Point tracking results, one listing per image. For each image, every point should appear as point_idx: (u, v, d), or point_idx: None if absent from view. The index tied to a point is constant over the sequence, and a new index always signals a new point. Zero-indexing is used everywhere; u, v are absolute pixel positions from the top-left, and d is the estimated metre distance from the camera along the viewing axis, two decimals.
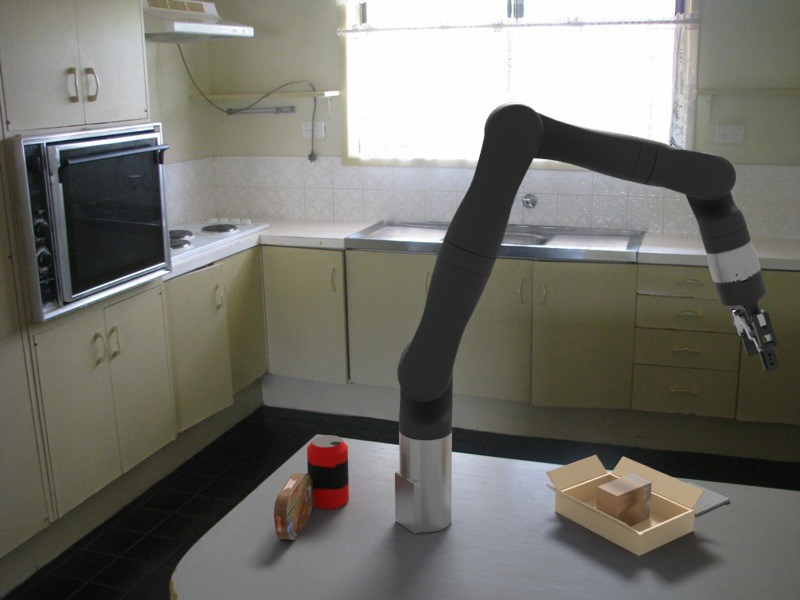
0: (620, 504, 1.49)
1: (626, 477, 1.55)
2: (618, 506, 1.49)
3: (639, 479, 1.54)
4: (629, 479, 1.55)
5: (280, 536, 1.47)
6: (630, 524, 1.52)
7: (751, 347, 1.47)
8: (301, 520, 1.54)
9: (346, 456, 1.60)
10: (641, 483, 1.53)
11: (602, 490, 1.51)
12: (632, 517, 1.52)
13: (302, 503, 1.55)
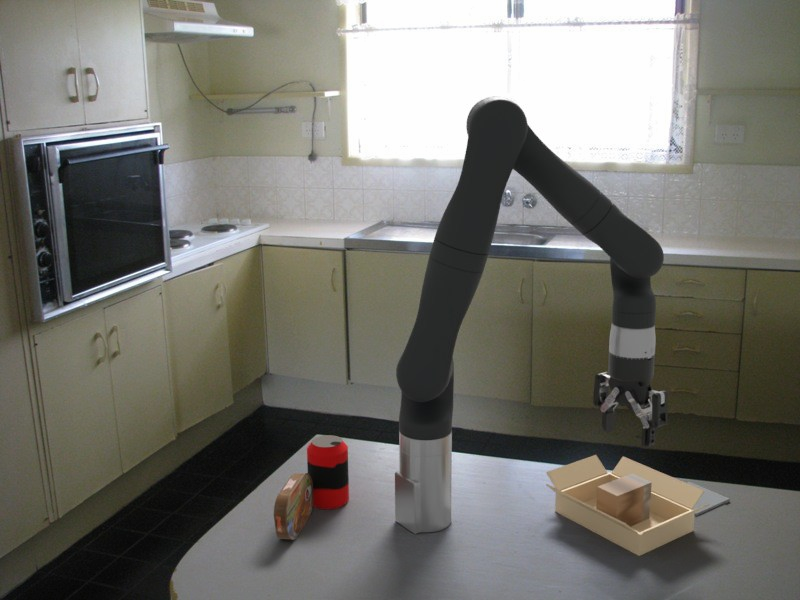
0: (620, 504, 1.49)
1: (626, 477, 1.55)
2: (618, 506, 1.49)
3: (639, 479, 1.54)
4: (629, 479, 1.55)
5: (280, 536, 1.47)
6: (630, 524, 1.52)
7: (610, 424, 1.53)
8: (301, 520, 1.54)
9: (346, 456, 1.60)
10: (641, 483, 1.53)
11: (602, 490, 1.51)
12: (632, 517, 1.52)
13: (302, 503, 1.55)
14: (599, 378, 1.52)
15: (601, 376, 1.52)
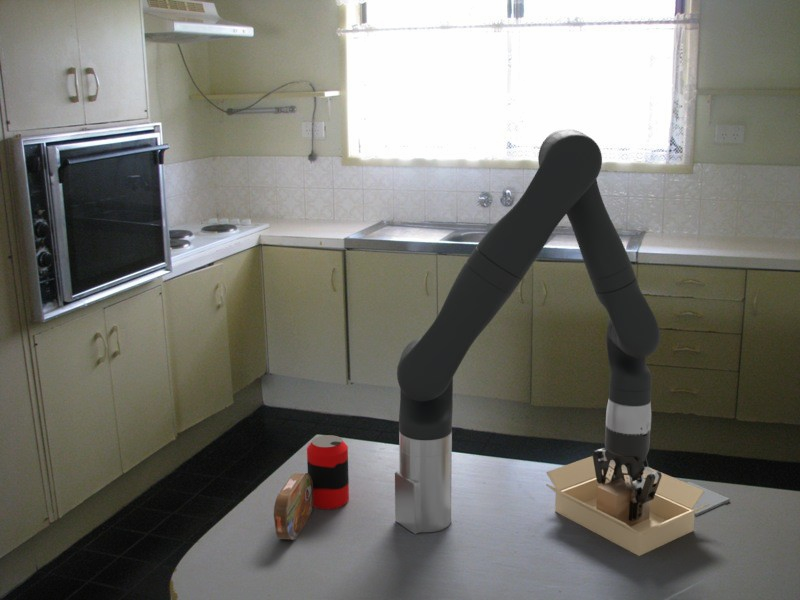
0: (620, 504, 1.49)
1: None
2: (618, 506, 1.49)
3: None
4: None
5: (280, 536, 1.47)
6: (630, 524, 1.52)
7: None
8: (301, 520, 1.54)
9: (346, 456, 1.60)
10: None
11: (602, 490, 1.51)
12: None
13: (302, 503, 1.55)
14: (596, 454, 1.55)
15: (597, 452, 1.56)
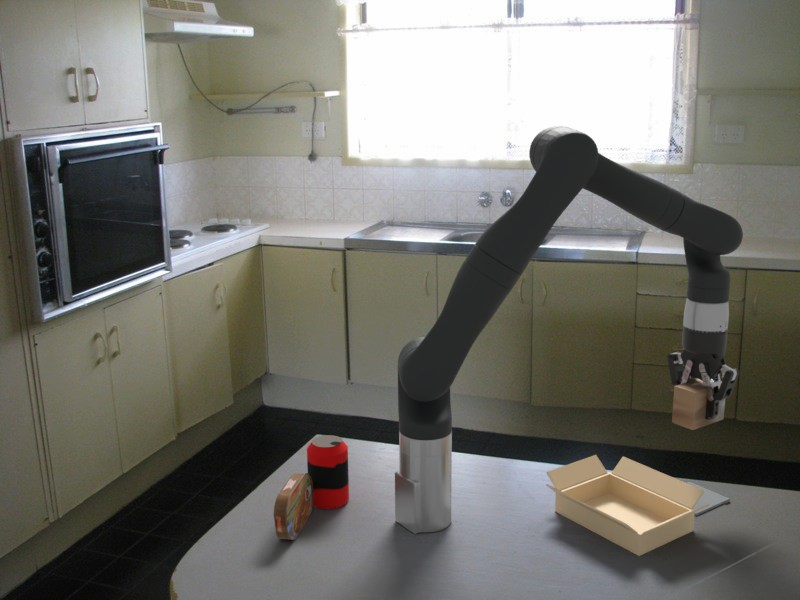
0: (698, 402, 1.53)
1: None
2: (696, 403, 1.53)
3: None
4: None
5: (280, 536, 1.47)
6: (706, 423, 1.56)
7: None
8: (301, 520, 1.54)
9: (346, 456, 1.60)
10: None
11: (679, 389, 1.55)
12: None
13: (302, 503, 1.55)
14: (671, 357, 1.60)
15: (673, 355, 1.60)
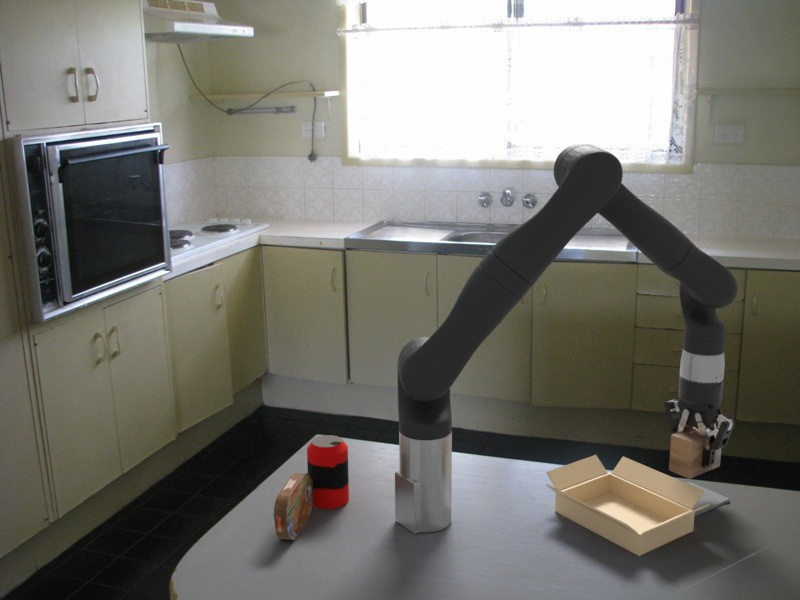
0: (694, 451, 1.56)
1: None
2: (693, 452, 1.55)
3: None
4: None
5: (280, 536, 1.47)
6: (703, 471, 1.58)
7: None
8: (301, 520, 1.54)
9: (346, 456, 1.60)
10: None
11: (676, 438, 1.57)
12: None
13: (302, 503, 1.55)
14: (668, 405, 1.62)
15: (670, 403, 1.62)
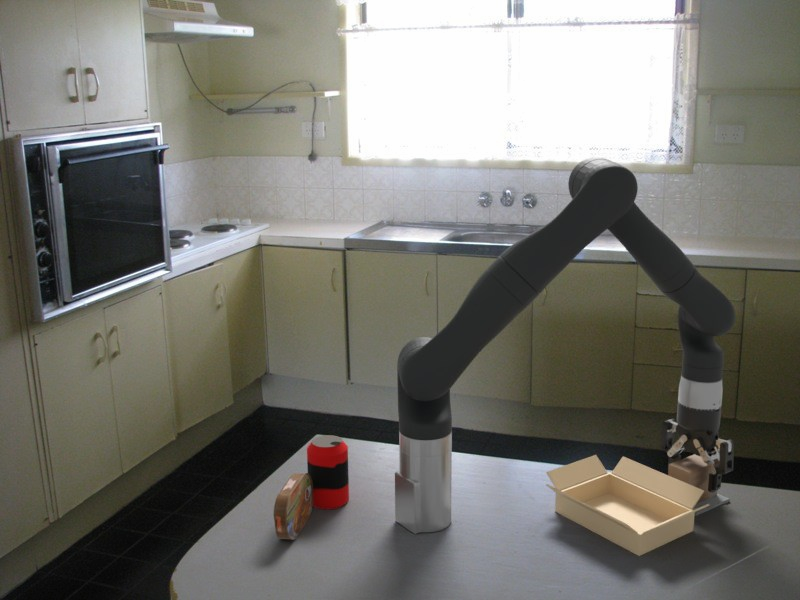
0: (691, 481, 1.57)
1: (695, 456, 1.63)
2: (690, 482, 1.57)
3: None
4: (698, 457, 1.62)
5: (280, 536, 1.47)
6: (700, 500, 1.60)
7: None
8: (301, 520, 1.54)
9: (346, 456, 1.60)
10: None
11: (674, 467, 1.59)
12: None
13: (302, 503, 1.55)
14: (666, 425, 1.63)
15: (668, 423, 1.63)
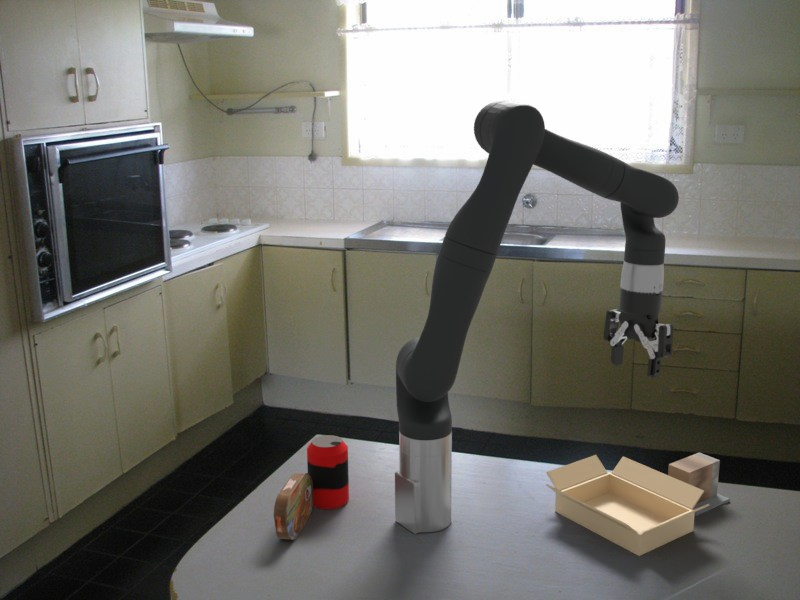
0: (691, 481, 1.57)
1: (695, 456, 1.63)
2: (690, 482, 1.57)
3: (708, 457, 1.62)
4: (698, 457, 1.62)
5: (280, 536, 1.47)
6: (700, 500, 1.60)
7: (618, 358, 1.65)
8: (301, 520, 1.54)
9: (346, 456, 1.60)
10: (709, 460, 1.61)
11: (674, 467, 1.59)
12: None
13: (302, 503, 1.55)
14: (610, 314, 1.64)
15: (612, 312, 1.64)
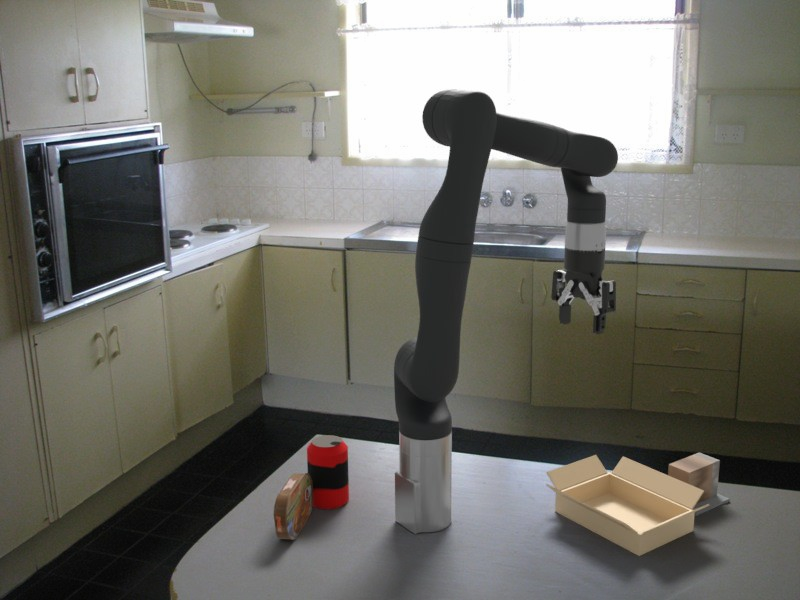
0: (691, 481, 1.57)
1: (695, 456, 1.63)
2: (690, 482, 1.57)
3: (708, 457, 1.62)
4: (698, 457, 1.62)
5: (280, 536, 1.47)
6: (700, 500, 1.60)
7: (566, 317, 1.69)
8: (301, 520, 1.54)
9: (346, 456, 1.60)
10: (709, 460, 1.61)
11: (674, 467, 1.59)
12: None
13: (302, 503, 1.55)
14: (556, 274, 1.68)
15: (558, 272, 1.68)
